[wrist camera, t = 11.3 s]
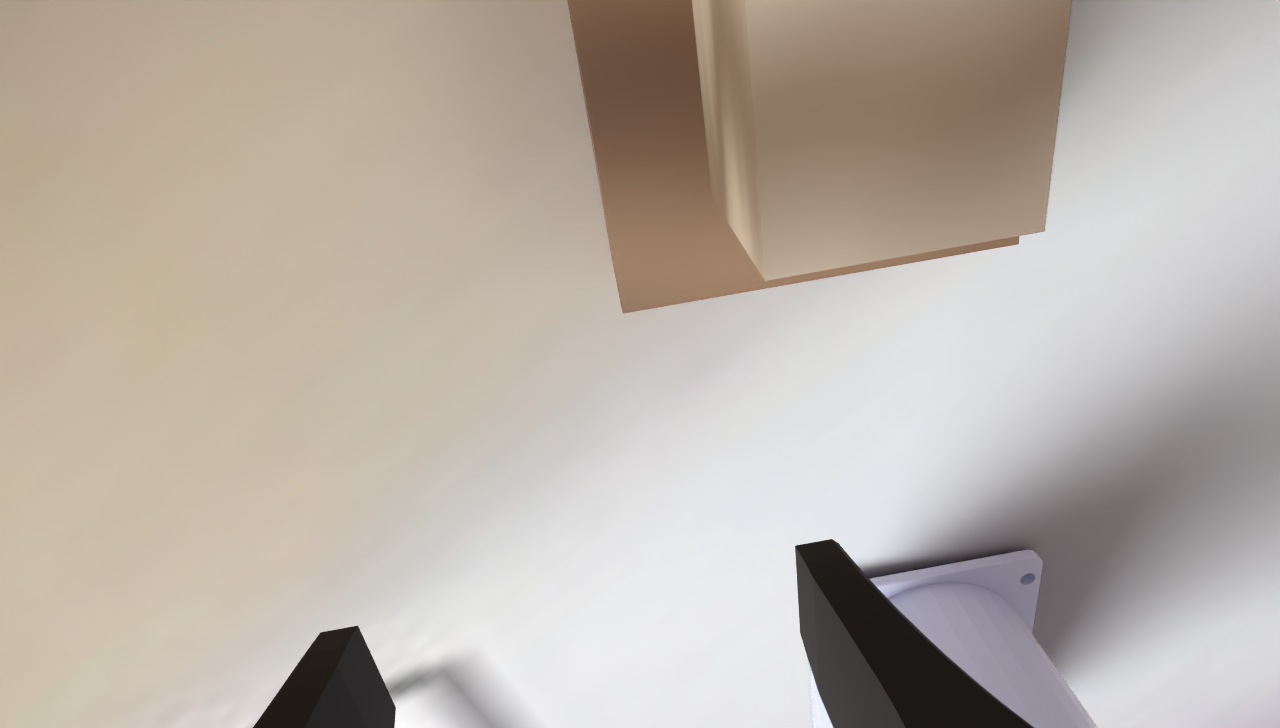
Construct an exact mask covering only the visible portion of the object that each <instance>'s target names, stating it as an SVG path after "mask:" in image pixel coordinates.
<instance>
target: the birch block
mask: <svg viewBox="0 0 1280 728" xmlns="http://www.w3.org/2000/svg"><path fill="white" fill-rule="evenodd" d="M1071 5H1072V0H692V7H693V17H694V27H695V37H696V46H697V56H698V66H699V76H700V85H701V95H702V105H703V115H704V125H705V134H706V144H707V154H708V164H709V173H710V183H711V193H712V199H713V200H714V202H715V203H716V205H717V207H718V208H719V210H720V211H721V213H722V214H723V216H724V218H725V219H726V221H727V222H728V224H729V225H730V227H731V229H732V230H733V232H734V233H735V235H736V236H737V238H738V239H739V241H740V243H741V244H742V246H743V247H744V249H745V250H746V252H747V254H748V255H749V257H750V258H751V260H752V261H753V263H754V265H755V266H756V268H757V269H758V271H759V272H760V274H761V275H762V277H763V279H764V280H765V281H768V280H774V279H779V278H785V277H791V276H796V275H802V274H807V273H813V272H819V271H824V270H830V269H836V268H841V267H847V266H852V265H858V264H864V263H869V262H875V261H881V260H886V259H892V258H897V257H903V256H909V255H914V254H920V253H926V252H931V251H937V250H942V249H948V248H954V247H959V246H965V245H971V244H976V243H982V242H987V241H993V240H999V239H1004V238H1010V237H1016V236H1021V235H1027V234H1032V233H1038V232H1044V231H1045V223H1046V215H1047V207H1048V198H1049V190H1050V181H1051V173H1052V164H1053V156H1054V148H1055V139H1056V131H1057V122H1058V114H1059V106H1060V97H1061V89H1062V80H1063V72H1064V64H1065V55H1066V47H1067V38H1068V30H1069V22H1070V13H1071Z"/></svg>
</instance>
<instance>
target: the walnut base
mask: <svg viewBox="0 0 1280 728" xmlns="http://www.w3.org/2000/svg"><path fill="white" fill-rule="evenodd" d="M568 5H569V11H570V17H571V23H572V29H573V34H574V40H575V46H576V52H577V58H578V63H579V69H580V75H581V81H582V87H583V92H584V98H585V104H586V110H587V116H588V122H589V127H590V133H591V139H592V145H593V151H594V156H595V162H596V168H597V174H598V180H599V185H600V191H601V197H602V203H603V209H604V215H605V220H606V226H607V232H608V238H609V244H610V249H611V255H612V261H613V266H614V272H615V277H616V282H617V287H618V292H619V297H620V302H621V307H622V312H623V313H628V312H634V311H640V310H646V309H651V308H657V307H663V306H668V305H674V304H680V303H685V302H691V301H697V300H703V299H708V298H714V297H720V296H725V295H731V294H737V293H742V292H748V291H754V290H760V289H765V288H771V287H777V286H782V285H788V284H794V283H799V282H805V281H811V280H817V279H822V278H828V277H834V276H839V275H845V274H851V273H856V272H862V271H868V270H874V269H879V268H885V267H891V266H896V265H902V264H908V263H914V262H919V261H925V260H931V259H936V258H942V257H948V256H953V255H959V254H965V253H971V252H976V251H982V250H988V249H993V248H999V247H1005V246H1010V245H1016V244H1019V236H1016V237H1010V238H1004V239H999V240H993V241H987V242H982V243H976V244H971V245H965V246H959V247H954V248H948V249H942V250H937V251H931V252H926V253H920V254H914V255H909V256H903V257H897V258H892V259H886V260H881V261H875V262H869V263H864V264H858V265H852V266H847V267H841V268H836V269H830V270H824V271H819V272H813V273H807V274H802V275H796V276H791V277H785V278H779V279H774V280H768V281H765V280H764V279H763V277H762V275H761V274H760V272H759V271H758V269H757V268H756V266H755V265H754V263H753V261H752V260H751V258H750V257H749V255H748V254H747V252H746V250H745V249H744V247H743V246H742V244H741V243H740V241H739V239H738V238H737V236H736V235H735V233H734V232H733V230H732V229H731V227H730V225H729V224H728V222H727V221H726V219H725V218H724V216H723V214H722V213H721V211H720V210H719V208H718V207H717V205H716V203H715V202H714V200H713V199H712V193H711V183H710V173H709V164H708V154H707V144H706V134H705V125H704V115H703V105H702V95H701V85H700V76H699V66H698V56H697V46H696V37H695V27H694V17H693V7H692V0H568Z"/></svg>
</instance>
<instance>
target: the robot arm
mask: <svg viewBox="0 0 1280 728" xmlns="http://www.w3.org/2000/svg"><path fill="white" fill-rule="evenodd" d="M795 549H796V567H797V584H798V601H799V618H800V633H801V637H802V640H803V643H804V647H805V650H806V653H807V657H808V660H809V663H810V676H811V696H812V716H813V728H1098V727H1097V726H1096V724H1095V723H1094V721H1093V720H1092V719H1091V717H1090V716H1089V714H1088V713H1087V711H1086V710H1085V709H1084V707H1083V706H1082V704H1081V703H1080V701H1079V700H1078V699H1077V697H1076V696H1075V694H1074V693H1073V691H1072V690H1071V689H1070V687H1069V686H1068V684H1067V683H1066V681H1065V680H1064V679H1063V677H1062V676H1061V674H1060V673H1059V671H1058V670H1057V669H1056V667H1055V666H1054V664H1053V663H1052V661H1051V660H1050V659H1049V657H1048V656H1047V654H1046V653H1045V651H1044V650H1043V649H1042V647H1041V646H1040V644H1039V643H1038V641H1037V640H1036V639H1035V637H1034V636H1033V634H1032V632H1033V626H1034V619H1035V613H1036V606H1037V600H1038V594H1039V587H1040V581H1041V574H1042V568H1043V561H1042V559H1041V558H1040V557H1039V556H1038V554H1037V553H1036V552H1035V551H1032V550H1022V551H1017V552H1011V553H1006V554H1000V555H995V556H990V557H984V558H979V559H973V560H968V561H962V562H957V563H951V564H946V565H941V566H935V567H930V568H924V569H919V570H913V571H908V572H903V573H897V574H892V575H886V576H881V577H875V578H870V579H869V578H868V577H867V576H866V575H865V574H864V573H863V571H862V570H861V569H860V568H859V567H858V566H857V565H856V564H855V562H854V561H853V560H852V559H851V558H850V557H849V555H848V554H847V553H846V552H845V551H844V550H843V548H842V547H841V546H840V545H839V543H837V542H835V541H834V540H832V539H830V540H825V541H819V542H814V543H808V544H803V545H797V546H795ZM395 711H396V707H395V705H394V703H393V701H392V699H391V696H390V694H389V692H388V690H387V688H386V686H385V683H384V681H383V679H382V677H381V675H380V673H379V670H378V668H377V666H376V664H375V662H374V660H373V657H372V655H371V653H370V651H369V649H368V647H367V645H366V642H365V640H364V638H363V636H362V634H361V632H360V629H359V627H358V626H354V627H348V628H343V629H337V630H332V631H326V632H321V633H320V634H319V635H318V637H317V638H316V640H315V641H314V642H313V644H312V645H311V646H310V648H309V649H308V650H307V652H306V653H305V655H304V656H303V657H302V659H301V660H300V662H299V663H298V665H297V666H296V667H295V669H294V670H293V672H292V673H291V675H290V676H289V677H288V679H287V680H286V682H285V683H284V685H283V686H282V687H281V689H280V690H279V692H278V693H277V695H276V696H275V697H274V699H273V700H272V702H271V703H270V704H269V706H268V707H267V709H266V710H265V712H264V713H263V714H262V716H261V717H260V719H259V720H258V721H257V723H256V724H255V725H254V727H253V728H394V723H395Z"/></svg>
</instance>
